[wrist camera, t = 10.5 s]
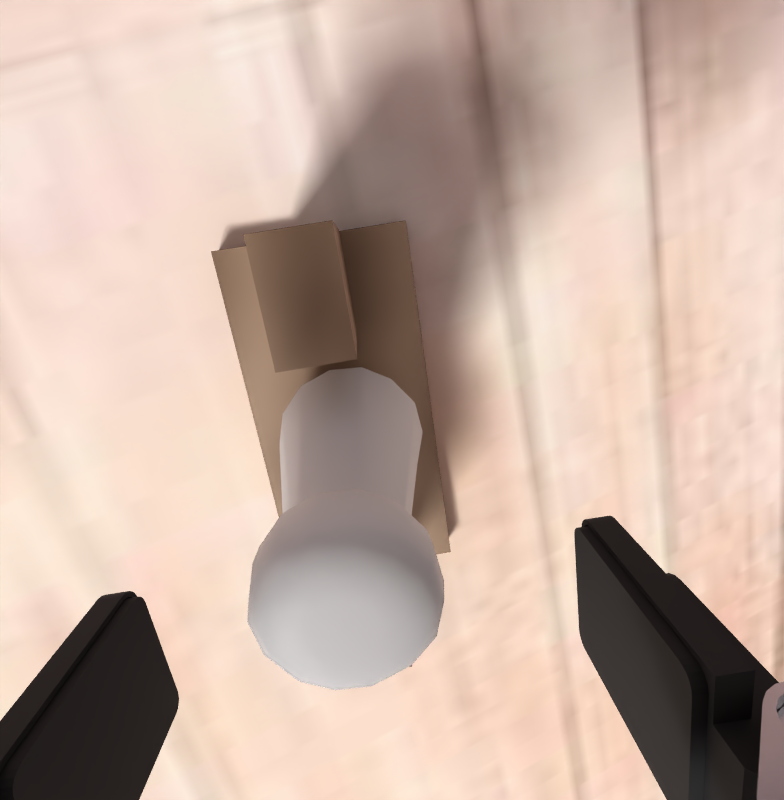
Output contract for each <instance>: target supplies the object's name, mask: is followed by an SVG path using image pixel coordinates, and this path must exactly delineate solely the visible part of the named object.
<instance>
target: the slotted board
mask: <svg viewBox="0 0 784 800" xmlns="http://www.w3.org/2000/svg"><path fill="white" fill-rule="evenodd" d="M243 236H244V241H245V245H246V246H243V247H237V248H230V249H224V250H218V251H211V253H212V257H213V261H214V265H215V269H216V272H217V276H218V280H219V284H220V288H221V292H222V296H223V300H224V304H225V308H226V312H227V316H228V319H229V323H230V327H231V331H232V335H233V339H234V343H235V347H236V351H237V355H238V359H239V363H240V367H241V370H242V374H243V378H244V382H245V386H246V390H247V394H248V398H249V402H250V406H251V410H252V414H253V418H254V421H255V425H256V429H257V433H258V437H259V441H260V445H261V449H262V453H263V457H264V461H265V465H266V469H267V472H268V476H269V480H270V484H271V488H272V492H273V496H274V500H275V504H276V508H277V512H278V516H279V517H280V516H281V515H282V514H283V511H282V489H281V467H280V434H281V425H282V416H283V413H284V411H285V410H286V408H287V407H288V405H289V403H290V402H291V400H292V399H293V397H294V396H295V394H296V393H297V391H298V390H299V388H300V387H301V386H302V385H304V384H306V383H308V382H309V381H311V380H313V379H315V378H316V377H318V376H320V375H322V374H324V373H325V372H327V371H329V370H336V369H347V368H358V367H362V368H365V369H367V370H370V371H373V372H375V373H378V374H380V375H383V376H385V377H388V378H390V379H392V380H393V381H394V382H395V383H396V384H397V385H398V386H399V387H400V388H401V389H402V390H403V391H404V392H405V393H406V394H407V395H408V396H409V397H410V398H411V399H412V400H413V401H414V402H415V405H416V409H417V413H418V416H419V420H420V424H421V428H422V431H423V432H422V439H421V445H420V451H419V457H418V464H417V472H416V481H415V489H414V498H413V507H412V516H413V517H414V518H415V519H416V520H417V521H418V522H419V523H420V524H421V525H422V526H424V527H425V528H426V529H427V531H428V533H429V536H430V538H431V541H432V543H433V546H434V549H435V553H436V554H441V553H447V552H451V551H450V544H449V537H448V529H447V522H446V515H445V507H444V500H443V492H442V485H441V478H440V470H439V463H438V456H437V448H436V441H435V433H434V426H433V419H432V411H431V404H430V397H429V389H428V382H427V375H426V367H425V360H424V352H423V345H422V338H421V330H420V323H419V316H418V308H417V301H416V294H415V286H414V279H413V271H412V264H411V257H410V249H409V242H408V235H407V227H406V221H400V222H393V223H387V224H381V225H375V226H368V227H362V228H356V229H350V230H343V231H339V230H338V229H337V227H336V225H335V224H334V222H333V221H325V222H319V223H313V224H306V225H300V226H294V227H287V228H281V229H275V230H269V231H262V232H256V233H250V234H243ZM411 666H412V665H411ZM411 666H409V667H411Z"/></svg>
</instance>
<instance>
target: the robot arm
mask: <svg viewBox="0 0 784 800" xmlns="http://www.w3.org/2000/svg"><path fill="white" fill-rule="evenodd" d="M575 553H576V573H577V594H578V614H579V631H580V636H581V640H582V643H583V646H584V648H585V650H586V652H587V654H588V655H589V657H590V659H591V661H592V663H593V665H594V666H595V668H596V670H597V672H598V674H599V676H600V678H601V679H602V681H603V683H604V685H605V687H606V689H607V690H608V692H609V694H610V696H611V698H612V700H613V701H614V703H615V705H616V707H617V709H618V711H619V712H620V714H621V716H622V718H623V720H624V722H625V724H626V725H627V727H628V729H629V731H630V733H631V735H632V736H633V738H634V740H635V742H636V744H637V746H638V747H639V749H640V751H641V753H642V755H643V757H644V759H645V760H646V762H647V764H648V766H649V768H650V770H651V771H652V773H653V775H654V777H655V779H656V781H657V782H658V784H659V786H660V788H661V790H662V792H663V793H664V795H665V797H666V799H667V800H784V682H781V683H779V682H778V681H777V680H776V679H775V678H774V677H773V676H772V675H771V674H770V673H769V672H768V671H767V670H766V669H765V668H764V667H763V666H762V665H761V664H760V663H759V661H758V660H757V659H756V658H755V657H754V656H753V655H752V654H751V653H750V652H749V651H748V650H747V649H746V648H745V647H744V646H743V645H742V644H741V643H740V642H739V641H738V640H737V638H736V637H735V636H734V635H733V634H732V633H731V632H730V631H729V630H728V629H727V628H726V627H725V626H724V625H723V624H722V623H721V622H720V621H719V620H718V619H717V618H716V617H715V615H714V614H713V613H712V612H711V611H710V610H709V609H708V608H707V607H706V606H705V605H704V604H703V603H702V602H701V601H700V600H699V599H698V598H697V597H696V596H695V595H694V593H693V592H692V591H691V590H690V589H689V588H688V587H687V586H686V585H685V584H684V583H683V582H682V581H681V580H680V579H679V578H678V577H676V576H675V575H673V574H670V573H667V574H666V573H665V572H664V571H663V570H662V569H661V568H660V567H659V566H658V565H657V564H656V562H655V561H654V560H653V559H652V558H651V557H650V556H649V555H648V554H647V553H646V552H645V551H644V550H643V548H642V547H641V546H640V545H639V544H638V543H637V542H636V541H635V540H634V539H633V538H632V537H631V536H630V534H629V533H628V532H627V531H626V530H625V529H624V528H623V527H622V526H621V525H620V524H619V523H618V522H617V520H616V519H615V518H613V517H612V516H605V517H598V518H592V519H586V520H584V521H583V522H582V527H580V528H576V529H575ZM178 703H179V696H178V691H177V688H176V685H175V683H174V680H173V677H172V674H171V672H170V669H169V666H168V663H167V661H166V658H165V655H164V652H163V650H162V647H161V644H160V641H159V639H158V636H157V633H156V630H155V628H154V625H153V622H152V619H151V617H150V614H149V611H148V608H147V606H146V603H145V601H144V599H143V598H142V597H137V596H136V594H135V593H134V592H131V591H127V592H121V593H115V594H108V595H104V596H101V597H100V598H99V599H98V600H97V601H96V602H95V604H94V605H93V606H92V607H91V609H90V610H89V611H88V612H87V614H86V615H85V616H84V617H83V619H82V620H81V621H80V622H79V624H78V625H77V626H76V627H75V629H74V630H73V631H72V632H71V634H70V635H69V636H68V637H67V639H66V640H65V641H64V642H63V644H62V645H61V646H60V647H59V649H58V650H57V651H56V652H55V654H54V655H53V656H52V657H51V659H50V660H49V661H48V662H47V664H46V665H45V666H44V667H43V669H42V670H41V671H40V672H39V673H38V675H37V676H36V677H35V678H34V680H33V681H32V682H31V683H30V685H29V686H28V687H27V688H26V690H25V691H24V692H23V693H22V695H21V696H20V697H19V698H18V700H17V701H16V702H15V703H14V705H13V706H12V707H11V708H10V710H9V711H8V712H7V713H6V715H5V716H4V717H3V718H2V720H1V721H0V800H139V799H140V796H141V794H142V792H143V789H144V787H145V785H146V782H147V780H148V778H149V775H150V773H151V771H152V768H153V766H154V764H155V761H156V759H157V757H158V754H159V752H160V750H161V747H162V745H163V743H164V740H165V738H166V736H167V733H168V731H169V729H170V727H171V724H172V722H173V720H174V717H175V715H176V712H177V709H178Z"/></svg>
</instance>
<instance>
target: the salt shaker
mask: <svg viewBox="0 0 784 800" xmlns="http://www.w3.org/2000/svg"><path fill="white" fill-rule="evenodd" d="M422 432H423V431H422V428H421V424H420V420H419V416H418V413H417V409H416V405H415V402H414V401H413V400H412V399H411V398H410V397H409V396H408V395H407V394H406V393H405V392H404V391H403V390H402V389H401V388H400V387H399V386H398V385H397V384H396V383H395V382H394V381H393V380H392V379H390V378H388V377H385V376H383V375H380V374H378V373H375V372H373V371H370V370H367V369H365V368H362V367H358V368H347V369H336V370H329V371H327V372H325V373H324V374H322V375H320V376H318V377H316V378H315V379H313V380H311V381H309V382H308V383H306V384H304V385H302V386H301V387H300V388H299V390H298V391H297V393H296V394H295V396H294V397H293V399H292V400H291V402H290V403H289V405H288V407H287V408H286V410H285V411H284V413H283V416H282V425H281V434H280V467H281V489H282V511H283V514H282V515H281V516H280V517H279V519H278V520H277V522H276V523H275V525H274V526H273V528H272V529H271V530H270V532H269V533H268V535H267V536H266V538H265V539H264V541H263V542H262V544H261V545H260V547H259V549H258V552H257V554H256V556H255V559H254V561H253V565H252V574H251V583H250V593H249V603H248V624H249V626H250V628H251V630H252V632H253V634H254V636H255V638H256V640H257V642H258V644H259V646H260V648H261V650H262V652H263V654H264V655H265V656H266V657H267V658H269V659H270V660H271V661H273V662H274V663H275V664H277V665H278V666H279V667H280V668H282V669H283V670H284V671H286V672H287V673H288V674H290V675H291V676H292V677H293V678H295V679H297V680H298V681H300V682H304V683H308V684H312V685H316V686H320V687H325V688H329V689H333V690H340V689H350V688H359V687H369V686H373V685H375V684H376V683H378V682H380V681H382V680H384V679H386V678H388V677H390V676H392V675H394V674H396V673H398V672H400V671H402V670H403V669H405V668H407V667H409V666H411V665H412V664H413V663H414V662H415V661H416V659H417V658H418V657H419V656H420V655H421V654H422V652H423V651H424V650H425V649H426V648H427V647H428V646H429V644H430V643H431V642H432V641H433V640H434V639H435V637H436V636H437V632H438V627H439V622H440V618H441V613H442V608H443V604H444V580H443V576H442V573H441V569H440V566H439V563H438V559H437V556H436V553H435V549H434V546H433V543H432V541H431V538H430V536H429V533H428V531H427V529H426V528H425V527H424V526H422V525H421V524H420V523H419V522H418V521H417V520H416V519H415V518H414V517H413V516H412V507H413V498H414V489H415V481H416V472H417V464H418V457H419V451H420V445H421V439H422Z"/></svg>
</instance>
